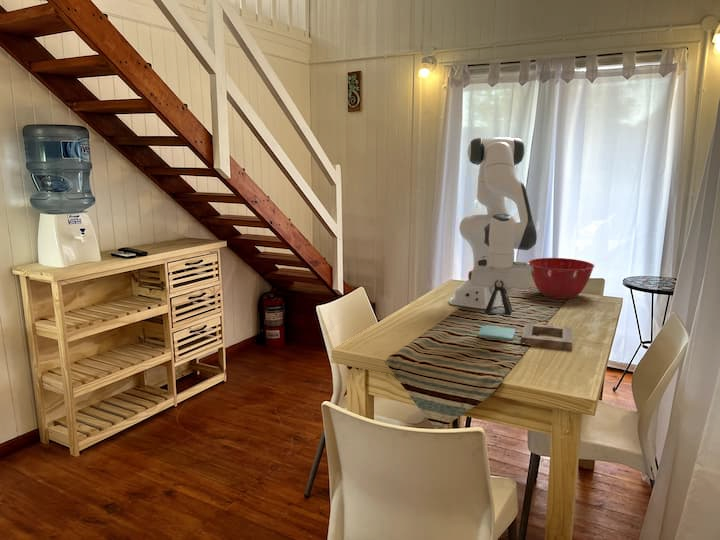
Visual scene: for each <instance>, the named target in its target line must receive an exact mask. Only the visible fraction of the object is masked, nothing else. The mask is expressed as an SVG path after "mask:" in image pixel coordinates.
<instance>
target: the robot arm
mask: <svg viewBox="0 0 720 540" xmlns="http://www.w3.org/2000/svg"><path fill="white" fill-rule="evenodd" d="M525 154H526V147H525V144H524V141H523V140H522V139H520V138H517V137H512V138H511V137H504V136H496V137H485V138H484V137H483V138H482V137H477V138H473V139H472V140H471V141H470V142H469V144H468V147H467V157H468V159H469V162H470V163H471V164H472V165H476V166H479V165H480V166H479V170H478V175H477V176H478V177H477V191H476V192H477V193H476V198H477V199H476V200H477V201H478V202H479V204H481V205H482V206H484V207H485V208H486V210H487V211H486V213H487V214H473V215H469V216H465V217H463V218H462V219H461V221H460V223H459V233H460V235H461V237H462V239H464V240H465V242H467V243H468V244H469V246H470V247H471V250H472V255H473V256H472V257H473V268H472V269H470V271H468V275H467V278H468V279H467V280H466V281H464V282H463V283H461V284H460V285H458V286H457V288H456V289H455V291H454V296H451V297H450V298H449V300H448V303H449V304H450V305H454V306H459V307H460V306H461V307H467V308H475V309H482V310H483V309H485V310H486V308H487V305H488V303H489V301H490V298H491V296H492V294H493V291H494V288H495V286H494V284H495V282H496V281H497V280H498V282H496V286H497V287H499V288H501V287H502V283H501V282H500V281H502V282H503V283H504V285H503V288H506V291H507V293H506V298H507V295H508V296H509V294H510V292H511V291H512V289H515V290H517V289H518V290H528V289H530V285H531V284H530V283H531V279H530V278H531V276H530V275H532V274H531V270H532V268H531V265H530V264H529V263H528V262H525V261H524V262H521V261H515V250H521V251H528V250H531V249H532V248H533V247H534V246H535V245H536V244H537V240H538V239H537V238H538V233H537V229H536V226H535V222H534V220H533V219H534V218H533V215H532V209H531V206H530V205H531V204H530V202H529V197H528V193H527V189H526V186H525V184H524V182H522V181H521V180H519V179H518V177H517V175H516V172H515V166H516V165H519V164H520V163H522V162H523V158H524V157H525ZM505 198H508V199H509V200H511V201H513V202H514V203H515V204H516V207H517V213H518V217H519V218H518V219H519V222H517V220H516V219H515V217H514V216H513V215H512V214H511V213H510V211H508V208H507V206H506V201H505ZM494 300H495V302H494V305H493V308H496V307H500V306H502V305H503V302H502V298H501V292H500V291H498V292H497V295H496V296H495V299H494Z"/></svg>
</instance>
